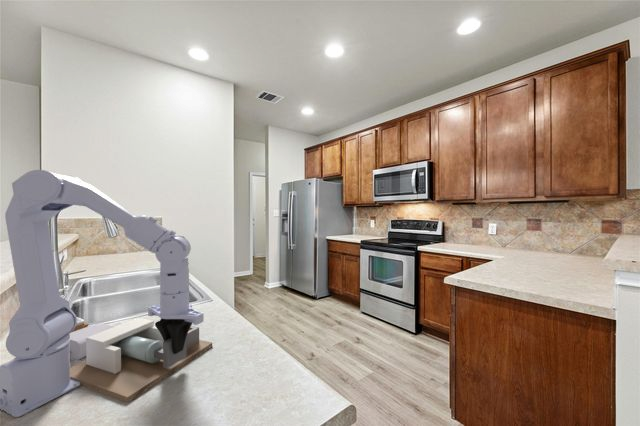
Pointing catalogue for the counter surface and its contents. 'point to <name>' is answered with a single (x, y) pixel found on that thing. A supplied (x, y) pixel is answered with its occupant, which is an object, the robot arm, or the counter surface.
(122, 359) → the mounting board
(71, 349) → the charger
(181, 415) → the counter surface
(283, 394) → the counter surface
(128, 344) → the grey and blue plunger
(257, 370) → the counter surface
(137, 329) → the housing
